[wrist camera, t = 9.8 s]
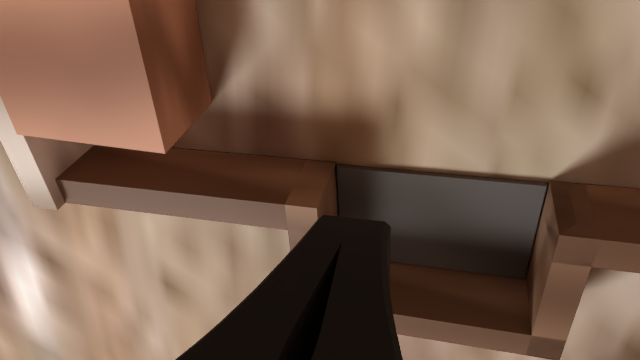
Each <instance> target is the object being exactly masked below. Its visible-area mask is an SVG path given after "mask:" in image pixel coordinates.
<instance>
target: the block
mask: <svg viewBox="0 0 640 360" xmlns="http://www.w3.org/2000/svg"><path fill="white" fill-rule="evenodd" d="M0 96H1V99H2V101H3V103H4V106H5V108H6V110H7V113H8V115H9V117H10V119H11V122H12V124H13V126H14V129H15V131H16V133H17V135H24V136H32V137H39V138H47V139H55V140H63V141H70V142H78V143H86V144H93V145H101V146H109V147H116V148H124V149H132V150H140V151H147V152H155V153H163V154H166V153H167V151H168V150H169V149H170V148H171V147H172V146H173V145H174V144H175V143H176V142H177V140H178V139H179V138H180V137H181V136H182V135H183V134H184V133H185V132H186V131H187V129H188V128H189V127H190V126H191V125H192V124H193V123H194V122H195V121H196V120H197V118H198V117H199V116H200V115H201V114H202V113H203V112H204V111H205V110H206V109H207V107H208V106H209V105H210V104H211V103H212V101H211V95H210V88H209V82H208V76H207V70H206V64H205V58H204V52H203V46H202V40H201V33H200V27H199V21H198V15H197V9H196V3H195V0H0Z"/></svg>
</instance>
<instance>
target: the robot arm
mask: <svg viewBox="0 0 640 360" xmlns="http://www.w3.org/2000/svg"><path fill="white" fill-rule="evenodd" d="M390 252H391V227H390V226H389V225H388V224H387V223H386V222H385V221H376V220H367V219H357V218H348V217H339V216H330V215H322V216H321V217H320V218H318V220H317V221H316V222H315V223H314V224H313V226H312V227H311V228H310V229H309V230H308V232H307V233H306V234H305V235H304V236H303V237H302V239H301V240H300V241H299V242H298V243H297V244H296V246H295V247H294V248H293V249H292V250H291V251H290V252H289V253H288V255H287V256H286V257H285V258H284V259H283V260H282V261H281V262H280V263H279V264H278V265H277V267H276V268H275V269H274V270H273V271H272V272H271V273H270V274H269V275H268V276H267V277H266V278H265V279H264V280H263V281H262V282H261V283H260V284H259V285H258V286H257V288H256V289H255V290H254V291H253V292H252V293H251V294H249V295H248V296H247V297H246V298H245V299H244V300H243V301H242V302H241V303H240V304H239V305H238V306H237V307H236V308H235V309H234V310H233V311H231V312H230V313H229V314H228V315H227V316H226V317H225V318H224V319H223V320H222V321H221V322H220V323H219V324H218V325H216V326H215V327H214V328H213V329H212V330H211V331H210V332H208V333H207V334H206V335H205V336H204V337H203V338H201V339H200V340H199V341H198V342H197V343H195V344H194V345H193V346H192V347H191V348H189V349H188V350H187V351H186V352H184V353H183V354H182V355H181V356H179V357H178V358H177V359H176V360H403V359H402V355H401V350H400V346H399V341H398V337H397V332H396V327H395V321H394V316H393V309H392V303H391V296H390Z"/></svg>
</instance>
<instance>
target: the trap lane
mask: <svg viewBox="0 0 640 360" xmlns="http://www.w3.org/2000/svg"><path fill="white" fill-rule="evenodd" d="M0 141H1V143H2V145H3V147H4V149H5V151H6V153H7V155H8V157H9V159H10V161H11V163H12V165H13V167H14V169H15V171H16V173H17V175H18V177H19V179H20V181H21V183H22V185H23V187H24V189H25V191H26V193H27V195H28V197H29V199H30V202H31V204H32V206H33V207H37V208H45V209H53V210H58V209H59V208H60V207H61V206H62V205H63V204H64V203H72V204H80V205H88V206H96V207H105V208H113V209H121V210H129V211H137V212H145V213H153V214H162V215H170V216H178V217H186V218H194V219H202V220H210V221H219V222H227V223H235V224H243V225H251V226H259V227H267V228H276V229H284V230H288V235H289V243H290V251H291V250H292V249H293V248H294V247H295V246H296V244H297V243H298V242H299V241H300V240H301V239H302V237H303V236H304V235H305V234H306V233H307V232H308V230H309V229H310V228H311V227H312V226H313V224H314V223H315V222H316V221H317V220H318V218H320V217H321V216H322V215H330V216H338V201H337V182H336V163H335V162H327V161H316V160H304V159H293V158H282V157H270V156H259V155H247V154H236V153H225V152H213V151H202V150H191V149H179V148H170V149H169V150H168V151H167V153H166V154H163V153H155V152H147V151H140V150H132V149H124V148H116V147H109V146H101V145H93V144H86V143H78V142H70V141H63V140H55V139H47V138H39V137H32V136H24V135H17V133H16V131H15V129H14V126H13V124H12V122H11V119H10V117H9V115H8V113H7V110H6V108H5V106H4V103H3V101H2V99H1V96H0ZM337 179H338V198H339V217H348V218H357V219H367V220H376V221H385V222H386V223H387V224H388V225H389V226H390V227H391V252H390V296H391V303H392V309H393V316H394V321H395V327H396V332H397V334H400V335H406V336H412V337H418V338H424V339H431V340H437V341H443V342H449V343H455V344H461V345H467V346H473V347H479V348H485V349H491V350H497V351H503V352H510V353H516V354H522V355H528V356H534V357H540V358H546V359H552V360H560V357H561V354H562V351H563V349H564V346H565V343H566V340H567V337H568V334H569V331H570V328H571V325H572V322H573V320H574V317H575V314H576V311H577V308H578V305H579V302H580V299H581V296H582V293H583V290H584V288H585V285H586V282H587V279H588V276H589V273H590V270H591V267H593V268H601V269H610V270H618V271H626V272H634V273H640V189H634V188H623V187H611V186H600V185H588V184H577V183H566V182H554V181H549V185H548V189H547V193H546V198H545V202H544V206H543V210H542V214H541V218H540V222H539V226H538V230H537V234H536V238H535V243H534V247H533V251H532V255H531V259H530V263H529V267H528V271H527V275H526V278H525V273H526V269H527V265H528V261H529V257H530V253H531V249H532V245H533V240H534V236H535V232H536V228H537V224H538V220H539V216H540V211H541V207H542V203H543V199H544V195H545V191H546V187H547V186H546V183H540V182H529V181H518V180H506V179H495V178H484V177H473V176H461V175H450V174H439V173H428V172H416V171H405V170H394V169H383V168H371V167H360V166H349V165H338V166H337Z"/></svg>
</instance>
